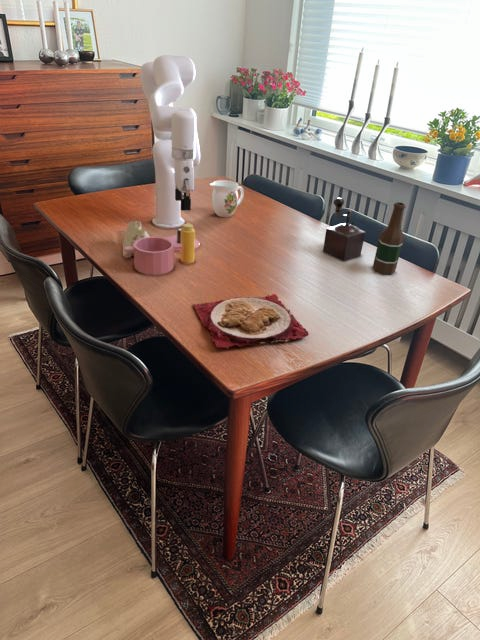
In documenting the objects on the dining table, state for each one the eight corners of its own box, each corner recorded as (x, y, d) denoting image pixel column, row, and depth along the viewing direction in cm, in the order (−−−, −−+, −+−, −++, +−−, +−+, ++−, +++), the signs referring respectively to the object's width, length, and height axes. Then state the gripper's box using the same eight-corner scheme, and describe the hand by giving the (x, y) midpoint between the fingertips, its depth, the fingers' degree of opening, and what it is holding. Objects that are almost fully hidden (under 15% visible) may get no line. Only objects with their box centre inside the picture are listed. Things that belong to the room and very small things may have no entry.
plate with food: (309, 340, 130) (311, 329, 128) (216, 351, 121) (217, 339, 119) (275, 298, 149) (276, 288, 147) (193, 305, 140) (193, 294, 139)
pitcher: (250, 214, 210) (253, 182, 202) (217, 221, 199) (218, 188, 192) (233, 206, 216) (236, 175, 209) (201, 213, 206) (202, 181, 199)
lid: (158, 238, 180) (158, 223, 177) (194, 237, 184) (195, 222, 181) (165, 254, 169) (164, 237, 166) (203, 251, 173) (203, 236, 170)
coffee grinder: (362, 255, 180) (373, 208, 171) (343, 261, 174) (353, 213, 165) (331, 241, 190) (339, 195, 181) (311, 246, 184) (319, 200, 175)
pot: (124, 260, 162) (122, 238, 158) (177, 257, 167) (177, 235, 163) (128, 277, 152) (127, 254, 148) (185, 273, 157) (185, 250, 153)
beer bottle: (395, 268, 173) (412, 202, 160) (394, 277, 166) (412, 209, 154) (373, 264, 174) (388, 198, 162) (371, 272, 168) (386, 205, 156)
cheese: (146, 268, 163) (168, 232, 167) (130, 256, 158) (153, 218, 162) (123, 266, 174) (143, 231, 178) (107, 254, 169) (128, 219, 173)
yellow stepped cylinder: (179, 259, 166) (179, 222, 159) (192, 258, 168) (193, 222, 161) (181, 265, 163) (182, 228, 156) (195, 264, 164) (196, 227, 157)
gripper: (201, 160, 150) (199, 213, 159) (189, 146, 164) (188, 196, 173) (176, 160, 148) (176, 214, 157) (167, 146, 162) (167, 197, 171)
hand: (182, 205), depth 165 cm, fingers open, 9 cm apart
